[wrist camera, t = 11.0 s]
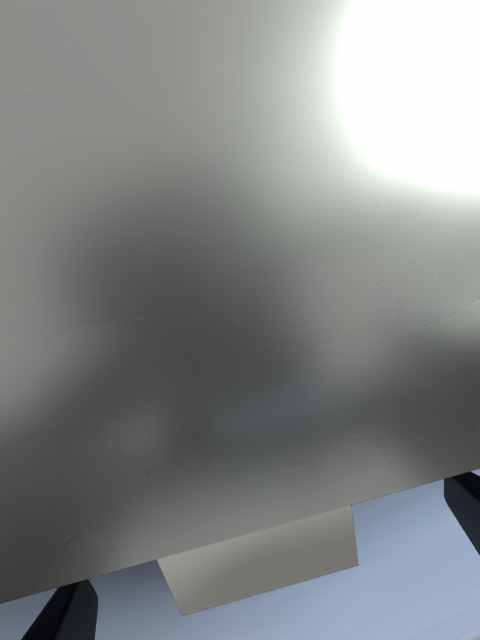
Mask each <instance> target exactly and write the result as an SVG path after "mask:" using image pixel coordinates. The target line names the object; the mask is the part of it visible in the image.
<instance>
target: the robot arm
mask: <svg viewBox="0 0 480 640" xmlns="http://www.w3.org/2000/svg"><path fill="white" fill-rule="evenodd" d="M444 497H445V500H446V503H447V505H448V506H449V508H450V510H451V511H452V513H453V514H454V516H455V517H456V519H457V521H458V522H459V524H460V525H461V527H462V528H463V530H464V532H465V533H466V535H467V536H468V538H469V539H470V541H471V543H472V544H473V546H474V547H475V549H476V550H477V552H478V554H479V555H480V476H478V475H476V474H474V473H472V472H466V473H463V474H459V475H456V476H452V477H449V478H445V479H444ZM97 611H98V597H97V593H96V591H95V590H94V588H93V586H92V585H91V583H90V581H89V579H86V580H83V581H79V582H76V583H72V584H68V585H65V586H61V587H58V589H57V590H56V592H55V593H54V594H53V596H52V597H51V599H50V600H49V601H48V603H47V604H46V606H45V607H44V608H43V610H42V611H41V613H40V614H39V615H38V617H37V618H36V620H35V621H34V622H33V624H32V625H31V627H30V628H29V629H28V631H27V632H26V634H25V635H24V636H23V638H22V639H21V640H95V631H96V621H97Z"/></svg>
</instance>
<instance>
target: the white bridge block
mask: <svg viewBox="0 0 480 640" xmlns="http://www.w3.org/2000/svg"><path fill="white" fill-rule="evenodd" d="M477 469H480V0H0V604H1V603H4V602H8V601H12V600H15V599H19V598H22V597H26V596H29V595H33V594H36V593H40V592H44V591H47V590H51V589H54V588H58V587H61V586H65V585H68V584H72V583H76V582H79V581H83V580H86V579H90V578H93V577H97V576H100V575H104V574H107V573H111V572H115V571H118V570H122V569H125V568H129V567H132V566H136V565H139V564H143V563H147V562H150V561H154V560H157V559H161V558H164V557H168V556H171V555H175V554H179V553H182V552H186V551H189V550H193V549H196V548H200V547H203V546H207V545H211V544H214V543H218V542H221V541H225V540H228V539H232V538H235V537H239V536H243V535H246V534H250V533H253V532H257V531H260V530H264V529H267V528H271V527H274V526H278V525H282V524H285V523H289V522H292V521H296V520H299V519H303V518H306V517H310V516H314V515H317V514H321V513H324V512H328V511H331V510H335V509H338V508H342V507H346V506H349V505H353V504H356V503H360V502H363V501H367V500H370V499H374V498H378V497H381V496H385V495H388V494H392V493H395V492H399V491H402V490H406V489H410V488H413V487H417V486H420V485H424V484H427V483H431V482H434V481H438V480H441V479H445V478H449V477H452V476H456V475H459V474H463V473H466V472H470V471H473V470H477Z"/></svg>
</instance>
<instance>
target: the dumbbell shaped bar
mask: <svg viewBox="0 0 480 640" xmlns="http://www.w3.org/2000/svg"><path fill="white" fill-rule="evenodd" d="M157 561H158V564H159V566H160V568H161V570H162V572H163V575H164V577H165V579H166V581H167V583H168V586H169V588H170V590H171V592H172V594H173V597H174V599H175V601H176V603H177V605H178V608H179V610H180V612H181V614H182V616H185V615H188V614H192V613H195V612H199V611H202V610H206V609H209V608H213V607H216V606H219V605H223V604H226V603H230V602H233V601H237V600H240V599H244V598H247V597H251V596H254V595H258V594H261V593H265V592H268V591H272V590H275V589H279V588H282V587H285V586H289V585H292V584H296V583H299V582H303V581H306V580H310V579H313V578H317V577H320V576H324V575H327V574H331V573H334V572H338V571H341V570H344V569H348V568H351V567H355V566H358V565H359V564H358V556H357V548H356V540H355V532H354V525H353V517H352V509H351V505H349V506H346V507H342V508H338V509H335V510H331V511H328V512H324V513H321V514H317V515H314V516H310V517H306V518H303V519H299V520H296V521H292V522H289V523H285V524H282V525H278V526H274V527H271V528H267V529H264V530H260V531H257V532H253V533H250V534H246V535H243V536H239V537H235V538H232V539H228V540H225V541H221V542H218V543H214V544H211V545H207V546H203V547H200V548H196V549H193V550H189V551H186V552H182V553H179V554H175V555H171V556H168V557H164V558H161V559H157Z"/></svg>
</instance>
